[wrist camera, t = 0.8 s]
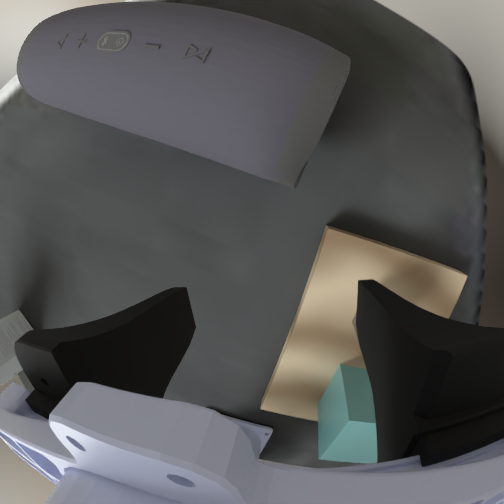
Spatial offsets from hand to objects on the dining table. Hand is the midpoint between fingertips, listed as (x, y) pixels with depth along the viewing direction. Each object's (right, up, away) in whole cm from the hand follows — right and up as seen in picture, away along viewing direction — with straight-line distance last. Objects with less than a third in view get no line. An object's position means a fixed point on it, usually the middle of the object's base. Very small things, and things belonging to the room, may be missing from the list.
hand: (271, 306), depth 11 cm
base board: (+9, -6, +11) cm, 15 cm away
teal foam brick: (+8, -10, +11) cm, 17 cm away
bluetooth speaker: (-6, +15, +8) cm, 19 cm away
